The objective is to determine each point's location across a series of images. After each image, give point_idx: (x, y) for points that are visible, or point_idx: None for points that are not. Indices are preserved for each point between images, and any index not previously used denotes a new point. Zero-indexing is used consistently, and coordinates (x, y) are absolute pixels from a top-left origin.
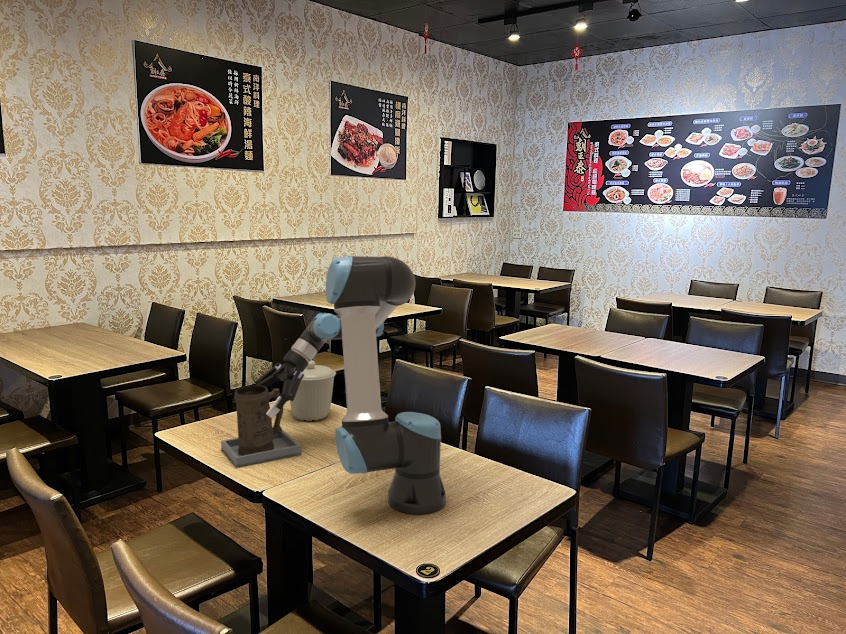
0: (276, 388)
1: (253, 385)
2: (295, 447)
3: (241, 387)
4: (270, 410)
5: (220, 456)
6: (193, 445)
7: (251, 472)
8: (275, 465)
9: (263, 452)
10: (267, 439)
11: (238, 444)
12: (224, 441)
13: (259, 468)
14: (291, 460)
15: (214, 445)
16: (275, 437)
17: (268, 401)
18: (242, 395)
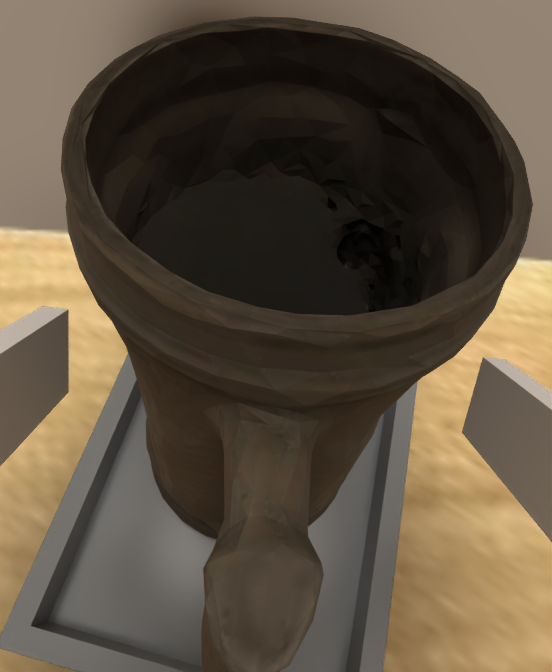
0: (280, 622)
1: (506, 262)
2: (18, 596)
3: (508, 136)
4: (18, 324)
5: None
6: (522, 308)
7: (79, 307)
8: (43, 425)
9: (118, 390)
10: (149, 433)
11: (385, 421)
12: None
13: (83, 353)
14: (15, 531)
15: (475, 365)
16: (350, 661)
17: (141, 366)
18: (223, 24)
